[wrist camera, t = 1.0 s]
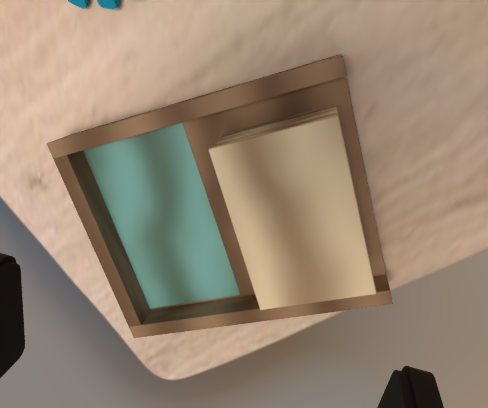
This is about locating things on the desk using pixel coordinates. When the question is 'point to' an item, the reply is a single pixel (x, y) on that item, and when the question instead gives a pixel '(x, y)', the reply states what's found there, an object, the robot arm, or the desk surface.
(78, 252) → the desk surface
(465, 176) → the desk surface
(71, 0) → the blue spiky virus toy
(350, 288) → the cream hardcover book
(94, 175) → the bay
